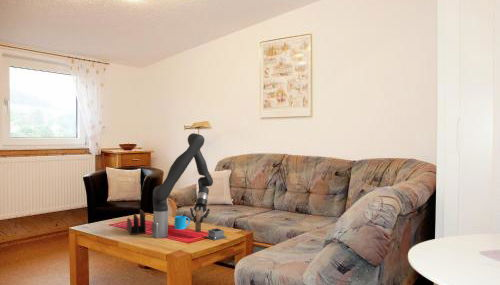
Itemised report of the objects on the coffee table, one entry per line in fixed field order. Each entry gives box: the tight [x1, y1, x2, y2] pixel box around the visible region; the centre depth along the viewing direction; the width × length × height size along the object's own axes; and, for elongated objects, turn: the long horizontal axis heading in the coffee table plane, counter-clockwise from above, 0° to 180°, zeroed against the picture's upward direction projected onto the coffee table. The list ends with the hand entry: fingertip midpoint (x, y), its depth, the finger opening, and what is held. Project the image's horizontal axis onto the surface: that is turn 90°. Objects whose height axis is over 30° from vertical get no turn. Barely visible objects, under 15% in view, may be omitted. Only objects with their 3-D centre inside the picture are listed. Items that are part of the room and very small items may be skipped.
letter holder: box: [126, 209, 147, 236], centre depth 261 cm, size 10×20×14 cm, turn 25°
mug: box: [174, 215, 191, 230], centre depth 273 cm, size 12×8×8 cm
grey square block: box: [205, 227, 228, 241], centre depth 247 cm, size 10×10×5 cm
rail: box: [194, 210, 202, 233], centre depth 246 cm, size 4×4×14 cm
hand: (197, 222), depth 244 cm, fingers closed on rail, 3 cm apart
